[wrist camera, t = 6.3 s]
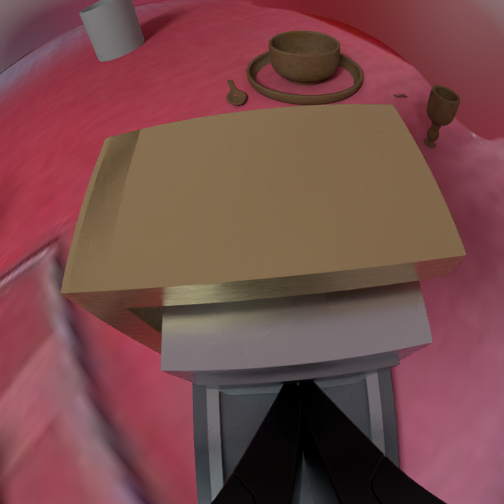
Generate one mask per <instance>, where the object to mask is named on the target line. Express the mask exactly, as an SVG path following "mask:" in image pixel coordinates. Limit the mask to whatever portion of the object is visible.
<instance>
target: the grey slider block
mask: <svg viewBox="0 0 504 504" xmlns="http://www.w3.org/2000/svg"><path fill="white" fill-rule="evenodd" d="M432 342H433V341H432V336H431V331H430V326H429V321H428V317H427V312H426V308H425V304H424V300H423V296H422V292H421V288H420V284H419V280H418V281H411V282H404V283H397V284H390V285H383V286H375V287H367V288H360V289H352V290H343V291H335V292H326V293H317V294H308V295H298V296H288V297H278V298H268V299H256V300H245V301H232V302H220V303H206V304H191V305H174V306H163V320H162V346H161V371H163V372H166V373H168V374H171V375H174V376H176V377H179V378H182V379H184V380H187V381H190V382H193V383H196V384H197V386H200V387H203V388H207V389H213V390H216V391H219V392H222V393H226V394H229V395H249V394H265V393H278V392H279V390H280V388H281V386H282V385H284V384H294V383H297V384H298V385H299V383H304V382H315V383H316V384H317V385H318V386H319V387H320V388H325V387H332V386H339V385H346V384H352V383H356V382H358V381H360V380H362V379H364V378H367V377H369V376H371V375H373V374H375V373H378V372H384V371H387V370H389V369H391V368H393V367H395V366H397V365H399V364H400V363H399V361H400V360H402V359H404V358H406V357H407V356H409V355H411V354H413V353H415V352H416V351H418V350H420V349H422V348H423V347H425V346H427V345H429V344H430V343H432Z"/></svg>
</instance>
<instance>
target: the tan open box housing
mask: <svg viewBox="0 0 504 504" xmlns="http://www.w3.org/2000/svg"><path fill="white" fill-rule="evenodd" d="M465 256H466V252H465V249H464V246H463V244H462V241H461V238H460V236H459V233H458V231H457V228H456V226H455V223H454V221H453V218H452V216H451V213H450V211H449V209H448V207H447V204H446V202H445V200H444V198H443V195H442V193H441V191H440V189H439V187H438V185H437V183H436V181H435V178H434V176H433V174H432V172H431V170H430V168H429V166H428V165H427V163H426V161H425V159H424V157H423V155H422V153H421V151H420V149H419V148H418V146H417V144H416V142H415V140H414V139H413V137H412V135H411V133H410V132H409V130H408V128H407V127H406V125H405V123H404V122H403V120H402V118H401V117H400V115H399V113H398V112H397V110H396V109H395V107H394V106H393V105H380V104H338V105H311V106H294V107H281V108H270V109H260V110H251V111H242V112H234V113H227V114H220V115H213V116H207V117H201V118H195V119H189V120H184V121H178V122H173V123H168V124H163V125H158V126H154V127H149V128H145V129H140V130H136V131H132V132H128V133H124V134H120V135H116V136H112V137H109V138H106V139H105V142H104V144H103V147H102V149H101V152H100V155H99V157H98V160H97V163H96V165H95V168H94V171H93V174H92V176H91V179H90V182H89V185H88V188H87V191H86V194H85V198H84V201H83V204H82V207H81V211H80V214H79V217H78V221H77V224H76V228H75V232H74V236H73V239H72V243H71V247H70V251H69V256H68V260H67V264H66V269H65V274H64V278H63V283H62V289H61V294H62V295H64V296H65V297H67V298H68V299H70V300H71V301H73V302H74V303H76V304H77V305H79V306H80V307H82V308H83V309H85V310H86V311H88V312H89V313H91V314H93V315H94V316H96V317H97V318H99V319H100V320H102V321H104V322H105V323H107V324H109V325H110V326H112V327H114V328H115V329H117V330H119V331H120V332H122V333H124V334H125V335H127V336H129V337H131V338H132V339H134V340H136V341H138V342H139V343H141V344H143V345H145V346H147V347H148V348H150V349H152V350H154V351H156V352H158V353H160V354H161V346H162V320H163V306H174V305H191V304H206V303H220V302H232V301H245V300H256V299H268V298H278V297H288V296H298V295H308V294H317V293H326V292H335V291H343V290H352V289H360V288H367V287H375V286H383V285H390V284H397V283H404V282H411V281H418V280H424V279H431V278H437V277H443V276H448V275H449V274H450V273H451V272H452V271H453V270H454V268H455V267H456V266H457V265H458V264H459V263H460V262H461V261H462V260H463V259H464V257H465Z"/></svg>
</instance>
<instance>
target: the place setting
mask: <svg viewBox="0 0 504 504" xmlns="http://www.w3.org/2000/svg"><path fill="white" fill-rule="evenodd" d="M269 63H271V64H272V66H273V68H274V70H275V71H276V72H277V73H278V74H280V75H281V76H283V77H285V78H287V79H288V80H289V81H290V82H292V83H295V84H299V85H314V84H317V83H320V82H322V81H323V80H324V79H326V78H328V77H330V76H331V75H333V74H334V73H335V71H336V70H337V68H338V65H340V66H342V67H343V68H345V69H346V70H347V71H349V72H350V74H351V75H352V77H353V79H354V85H353V86H352V87H350V88H348V89H346V90H343V91H340V92H336V93H331V94H324V95H297V94H289V93H283V92H278V91H275V90H271V89H269V88H266V87H264V86H262V85H260V84H258V83H257V82H256V79H255V78H256V74H257V72H258V71H259V70H260V69H261V68H262V67H264V66H265V65H267V64H269ZM247 77H248V80H249V82H250V84H251V85H252V87H253V88H254V89H255V90H256V91H258V92H259V93H261V94H262V95H264V96H266V97H268V98H271V99H273V100H277V101H280V102H285V103H290V104H299V105H321V104H329V103H334V102H338V101H341V100H344V99H346V98H348V97H350V96H352V95H353V94H354V93H355V92H356V91H357V90H358V89H359V88H360V86H361V84H362V80H363V72H362V69H361V68H360V66H359V65H358V64H357V63H356V62H355V61H353V60H352V59H350V58H349V57H347V56H345V55H343V54H340V43H339V42H338V41H337V40H336V39H335V38H333V37H331V36H329V35H326V34H323V33H319V32H313V31H290V32H285V33H281V34H278V35H276V36H274V37H272V38H271V39H270V40H269V51H268V52H265V53H263V54H261V55H259V56H257V57H256V58H254V59H253V60H252V61H251V62H250V63H249V65H248V67H247ZM228 84H229V86H230V89H231V90H230V92H229V93H228V95H227V100H228V102H230V103H231V104H233V105H235V106H238V105H242V104H244V103H245V101H246V98H247V95H246V94H245V93H244V92H243V91H240V90H238V89H236V87H235V86H234V83H233V81H232V80H228ZM234 95H238V96H234ZM393 95H394V94H393ZM396 95H397V94H396ZM396 95H394V96H396ZM399 95H400V96H399ZM399 95H397V96H399V97H401V96H402V95H403V96H402V97H404V96H405V95H404V94H402V95H401V94H399ZM397 96H396V97H397ZM399 97H398V98H399ZM405 97H407V96H405ZM459 103H460V98H459V96H458V95H457V94H456V93H455V92H454V91H452V90H451V89H449V88H446V87H443V86H439V85H435V86H433V87H432V90H431V93H430V96H429V100H428V105H427V114H428V116H429V118H430V119H431V120H432V125H431V128H430V129H429V130H428V131H427V137H428V139H425V140H424V144H425V145H426V146H428V147H430V148H434V147H435V146H436V145H435V143H434V141H435V140H437V139H438V137H439V129H440V127H441V125H442V126H445V125H448V124H450V123H451V122H452V120H453V119H454V117H455V114H456V112H457V109H458V106H459Z"/></svg>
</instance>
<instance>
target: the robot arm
mask: <svg viewBox="0 0 504 504" xmlns="http://www.w3.org/2000/svg"><path fill="white" fill-rule="evenodd" d="M303 455H304V461H305V466H306V470H307V475H308V479H309V483H310V487H311V492H312V496H313V500H314V504H447V503H445V502H444V501H442V500H441V499H439V498H438V497H436V496H435V495H433V494H432V493H430V492H429V491H427V490H426V489H424V488H423V487H422V486H420V485H419V484H418V483H416V482H415V481H414V480H412V479H411V478H410V477H408V476H407V475H406V474H405V473H404V472H403V471H402V470H401V469H399V468H398V467H397V466H396V465H395V464H394V463H393V462H392V461H391V460H390V459H389V458H388V457H387V456H384V453H383V452H382V451H381V450H380V449H379V448H378V447H377V446H376V445H375V444H374V443H373V442H372V441H371V440H370V439H369V438H368V437H367V436H366V435H365V434H364V433H363V432H362V431H361V430H360V429H359V428H358V427H357V426H356V425H355V424H354V423H353V422H352V421H351V420H350V419H349V418H348V417H347V416H346V415H345V414H344V413H343V412H342V411H341V410H340V408H339V407H338V406H337V405H336V404H335V403H334V402H333V401H332V400H331V399H330V398H329V397H328V396H327V395H326V394H325V393H324V392H323V391H322V390H321V389H320V387H319V386H318V385H317V384H316V383H315V382H304V383H299V385H298V384H297V383H294V384H284V385H282V386H281V388H280V390H279V392H278V394H277V395H276V397H275V399H274V401H273V403H272V405H271V407H270V408H269V410H268V412H267V414H266V416H265V417H264V419H263V421H262V423H261V425H260V426H259V428H258V430H257V432H256V433H255V435H254V437H253V439H252V440H251V442H250V444H249V445H248V447H247V449H246V451H245V452H244V454H243V456H242V457H241V459H240V461H239V462H238V464H237V465H236V467H235V469H234V470H233V473H232V474H231V475H230V476H229V478H228V480H227V481H226V483H225V484H224V486H223V487H222V489H221V490H220V492H219V493H218V494H217V496H216V497H215V499H214V500H213V501H212V502H211V503H210V504H300V493H301V481H302V468H303Z"/></svg>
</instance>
